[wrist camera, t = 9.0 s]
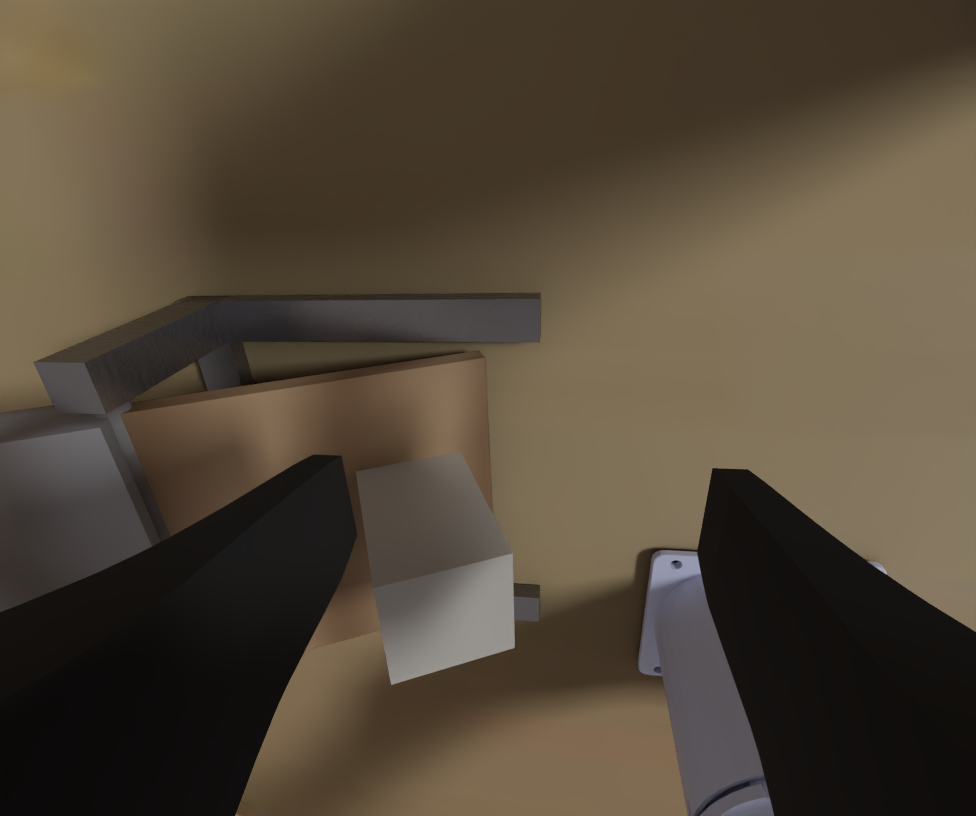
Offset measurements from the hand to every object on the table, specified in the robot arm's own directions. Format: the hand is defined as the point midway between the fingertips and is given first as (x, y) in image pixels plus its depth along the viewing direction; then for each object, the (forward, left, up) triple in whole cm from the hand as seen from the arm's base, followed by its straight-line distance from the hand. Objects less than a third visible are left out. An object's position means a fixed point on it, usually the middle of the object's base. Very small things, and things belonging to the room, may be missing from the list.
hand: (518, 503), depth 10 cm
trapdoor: (+11, +7, -7) cm, 14 cm away
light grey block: (+5, +6, -8) cm, 11 cm away
